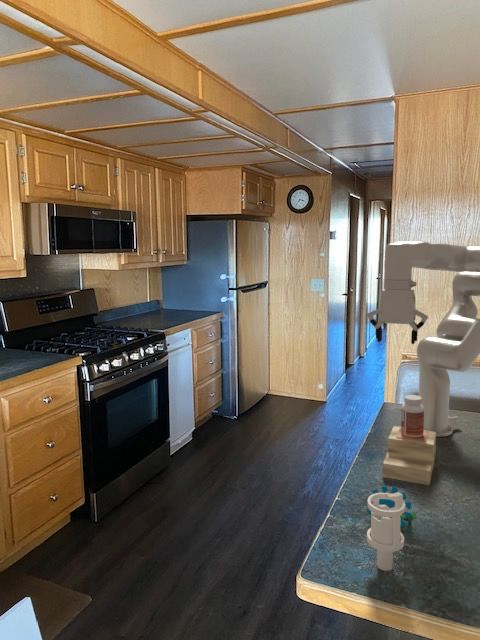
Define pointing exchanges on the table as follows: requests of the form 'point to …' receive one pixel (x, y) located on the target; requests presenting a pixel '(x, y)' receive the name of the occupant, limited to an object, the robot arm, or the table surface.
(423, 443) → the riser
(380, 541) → the white flanged pipe fitting
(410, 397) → the pill bottle
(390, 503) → the gear
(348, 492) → the table surface
